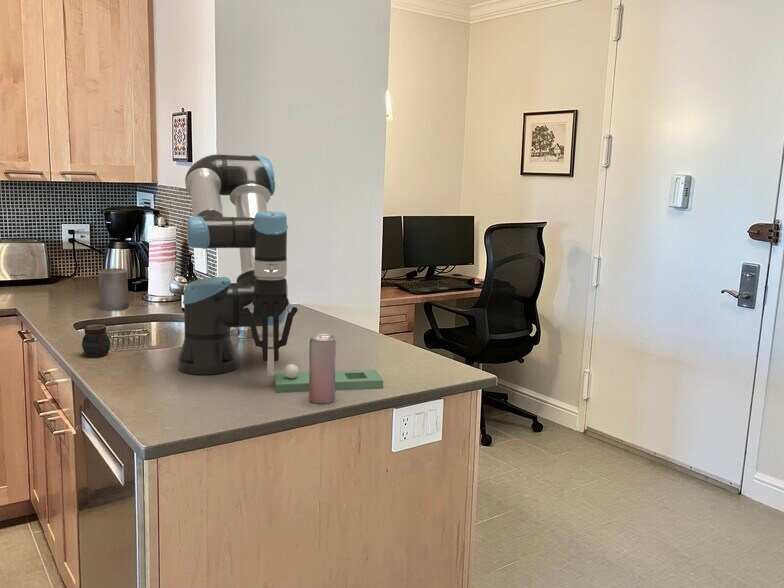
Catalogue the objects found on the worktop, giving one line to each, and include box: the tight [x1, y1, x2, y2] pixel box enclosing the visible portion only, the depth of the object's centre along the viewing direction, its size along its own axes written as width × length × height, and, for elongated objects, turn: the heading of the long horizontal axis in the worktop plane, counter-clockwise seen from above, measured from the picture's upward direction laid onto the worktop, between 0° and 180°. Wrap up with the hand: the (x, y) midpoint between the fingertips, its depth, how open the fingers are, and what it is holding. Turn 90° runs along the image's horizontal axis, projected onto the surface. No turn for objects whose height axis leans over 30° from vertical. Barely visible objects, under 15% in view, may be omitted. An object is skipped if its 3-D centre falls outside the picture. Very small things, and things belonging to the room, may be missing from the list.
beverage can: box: [308, 333, 337, 405], centre depth 161 cm, size 6×6×15 cm
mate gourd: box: [79, 321, 111, 358], centre depth 191 cm, size 7×8×10 cm
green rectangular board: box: [272, 369, 384, 394], centre depth 173 cm, size 26×9×2 cm, turn 104°
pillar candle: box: [97, 267, 130, 312], centre depth 250 cm, size 10×10×15 cm
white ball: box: [283, 363, 300, 379], centre depth 171 cm, size 4×4×4 cm
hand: (270, 374), depth 169 cm, fingers closed
